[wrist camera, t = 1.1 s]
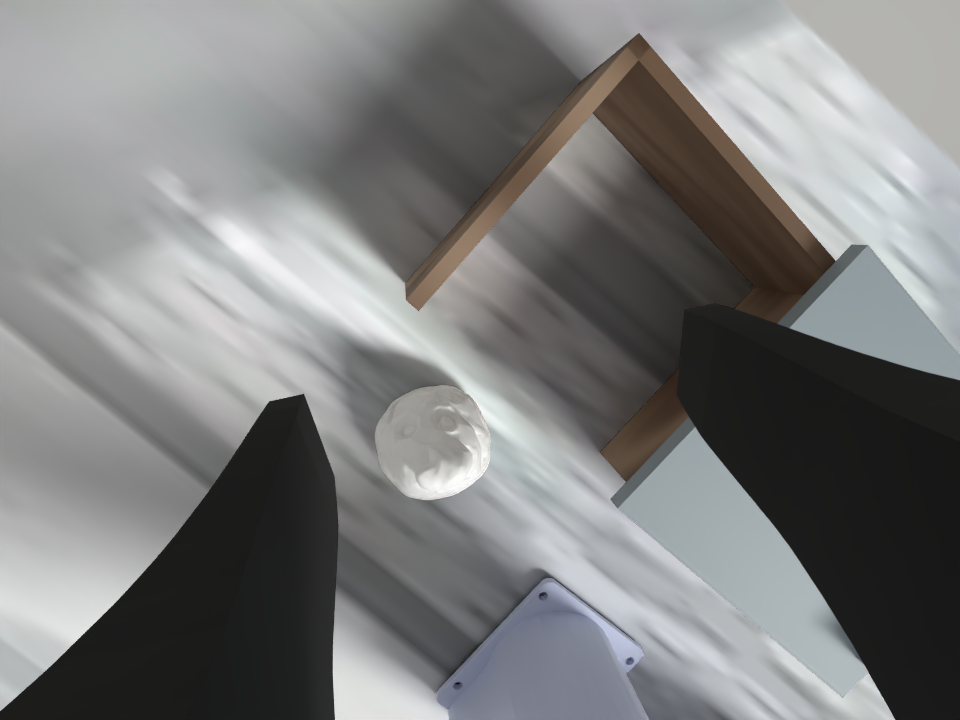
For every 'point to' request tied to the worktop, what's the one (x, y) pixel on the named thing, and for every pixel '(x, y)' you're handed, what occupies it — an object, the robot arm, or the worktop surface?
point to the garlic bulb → (433, 442)
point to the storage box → (693, 186)
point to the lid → (730, 510)
